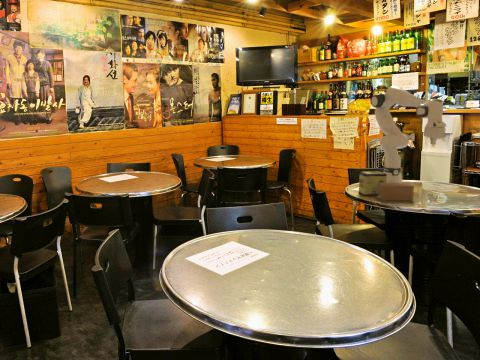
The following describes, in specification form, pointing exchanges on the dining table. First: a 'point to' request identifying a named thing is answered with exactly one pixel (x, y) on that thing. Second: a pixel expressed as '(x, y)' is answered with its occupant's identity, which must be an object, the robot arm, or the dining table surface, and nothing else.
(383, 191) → the wooden block
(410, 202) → the mat
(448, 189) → the dining table surface
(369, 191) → the protein box
